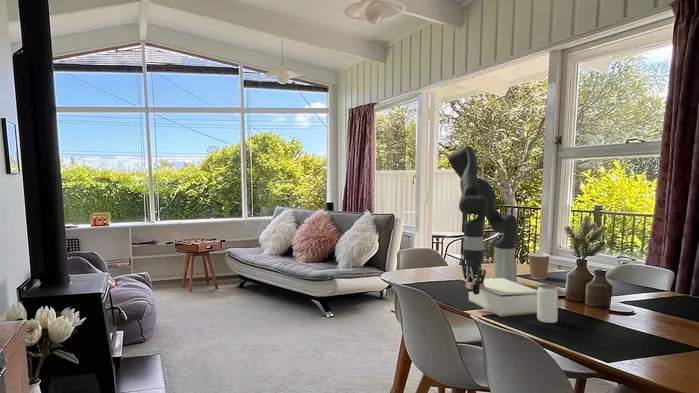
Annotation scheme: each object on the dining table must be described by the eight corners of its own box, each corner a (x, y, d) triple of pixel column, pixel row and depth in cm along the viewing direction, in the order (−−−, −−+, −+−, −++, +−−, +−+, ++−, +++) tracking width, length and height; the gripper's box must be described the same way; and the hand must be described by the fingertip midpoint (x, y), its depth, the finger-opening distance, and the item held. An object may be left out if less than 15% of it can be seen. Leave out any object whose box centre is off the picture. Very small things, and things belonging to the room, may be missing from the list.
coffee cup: (553, 280, 207) (553, 256, 207) (532, 280, 208) (532, 256, 207) (544, 275, 218) (544, 252, 217) (524, 275, 218) (524, 252, 218)
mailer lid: (502, 280, 176) (502, 275, 176) (539, 293, 154) (539, 287, 154) (453, 281, 170) (453, 276, 170) (484, 295, 148) (484, 290, 148)
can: (556, 318, 148) (556, 284, 148) (558, 324, 142) (559, 289, 141) (536, 316, 150) (536, 283, 150) (537, 322, 144) (538, 287, 144)
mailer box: (502, 297, 176) (502, 281, 175) (538, 313, 154) (538, 294, 154) (468, 300, 172) (468, 283, 172) (500, 316, 150) (500, 297, 150)
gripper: (492, 250, 153) (492, 296, 154) (472, 245, 167) (472, 287, 168) (474, 251, 152) (474, 298, 152) (455, 245, 165) (455, 289, 166)
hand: (473, 292), depth 160 cm, fingers closed on mailer lid, 3 cm apart
